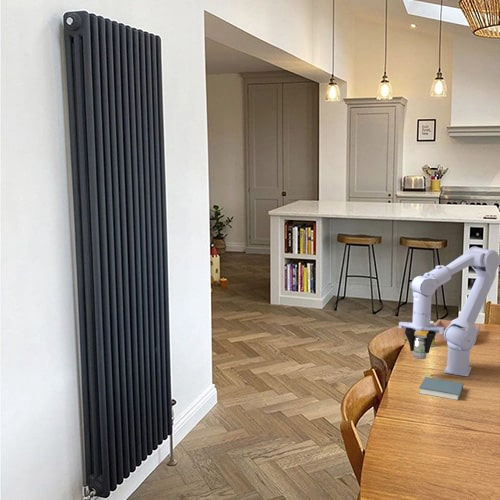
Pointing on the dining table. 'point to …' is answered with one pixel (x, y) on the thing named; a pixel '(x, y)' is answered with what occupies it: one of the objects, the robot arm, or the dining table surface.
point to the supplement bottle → (426, 334)
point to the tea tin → (419, 346)
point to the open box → (445, 324)
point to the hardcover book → (441, 388)
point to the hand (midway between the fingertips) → (419, 351)
